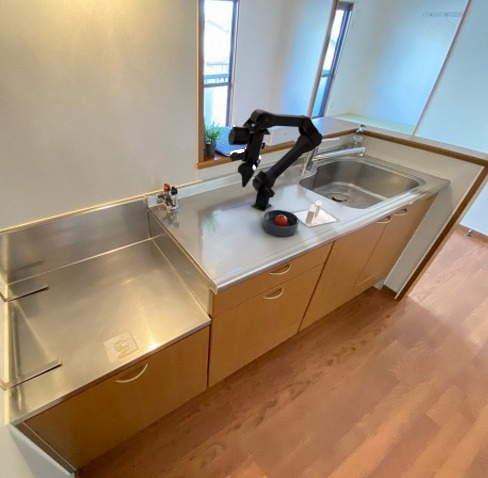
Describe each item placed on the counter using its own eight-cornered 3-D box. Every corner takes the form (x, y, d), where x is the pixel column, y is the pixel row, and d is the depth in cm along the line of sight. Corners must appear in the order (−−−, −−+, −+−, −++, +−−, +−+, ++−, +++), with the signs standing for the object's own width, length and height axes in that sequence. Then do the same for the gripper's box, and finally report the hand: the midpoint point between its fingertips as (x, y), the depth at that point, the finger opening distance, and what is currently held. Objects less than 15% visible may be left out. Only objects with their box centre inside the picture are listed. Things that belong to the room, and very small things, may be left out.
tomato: (277, 221, 111) (279, 210, 108) (288, 226, 109) (291, 215, 106) (270, 226, 109) (272, 215, 106) (281, 231, 106) (284, 220, 103)
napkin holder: (308, 227, 109) (312, 214, 106) (291, 213, 118) (294, 201, 114) (337, 220, 113) (342, 208, 110) (318, 207, 122) (322, 196, 119)
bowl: (273, 215, 116) (275, 206, 114) (302, 227, 109) (305, 218, 106) (256, 227, 109) (257, 218, 106) (285, 241, 101) (288, 231, 99)
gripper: (239, 136, 114) (232, 172, 123) (228, 147, 100) (221, 186, 109) (265, 141, 112) (256, 177, 121) (258, 153, 97) (248, 193, 106)
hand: (245, 183), depth 114 cm, fingers open, 9 cm apart
